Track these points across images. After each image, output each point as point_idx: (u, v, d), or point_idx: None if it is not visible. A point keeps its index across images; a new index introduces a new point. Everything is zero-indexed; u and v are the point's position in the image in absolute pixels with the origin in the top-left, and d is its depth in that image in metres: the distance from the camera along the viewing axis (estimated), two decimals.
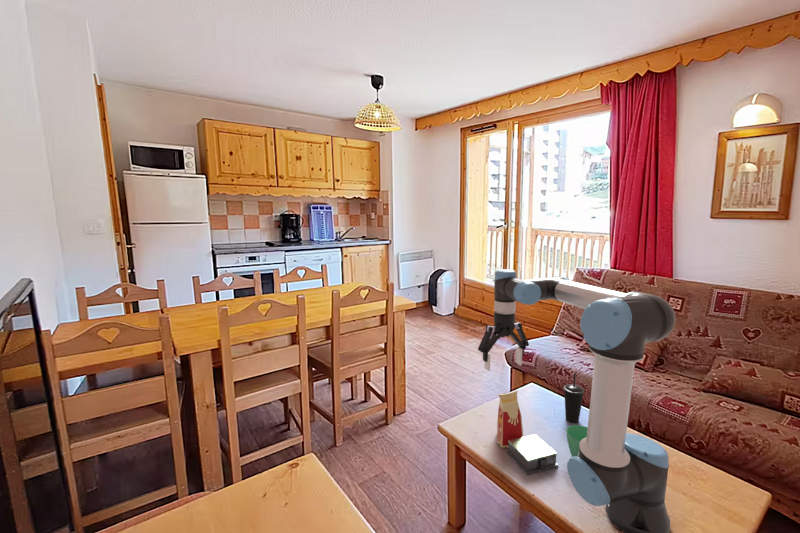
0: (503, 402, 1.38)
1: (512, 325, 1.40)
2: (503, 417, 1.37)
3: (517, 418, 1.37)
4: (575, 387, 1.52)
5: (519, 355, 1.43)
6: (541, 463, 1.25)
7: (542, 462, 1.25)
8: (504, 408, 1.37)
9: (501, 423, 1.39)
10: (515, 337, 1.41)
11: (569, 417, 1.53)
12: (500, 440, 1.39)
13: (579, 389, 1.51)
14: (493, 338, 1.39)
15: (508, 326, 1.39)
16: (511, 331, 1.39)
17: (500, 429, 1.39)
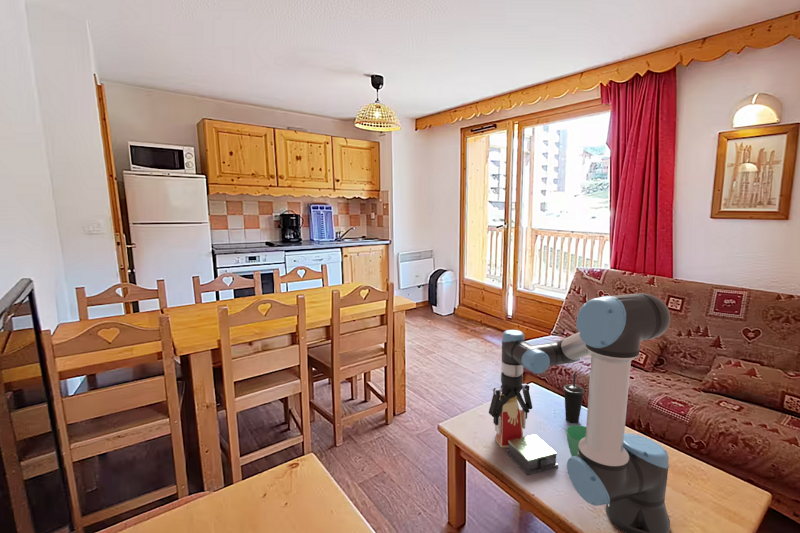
0: None
1: (520, 386, 1.38)
2: (503, 417, 1.37)
3: (517, 418, 1.37)
4: (575, 387, 1.52)
5: (522, 418, 1.41)
6: (541, 463, 1.25)
7: (542, 462, 1.25)
8: (504, 408, 1.37)
9: (501, 423, 1.38)
10: (521, 399, 1.39)
11: (569, 417, 1.53)
12: (500, 440, 1.39)
13: (579, 389, 1.51)
14: (502, 401, 1.38)
15: (516, 386, 1.38)
16: (518, 393, 1.38)
17: None
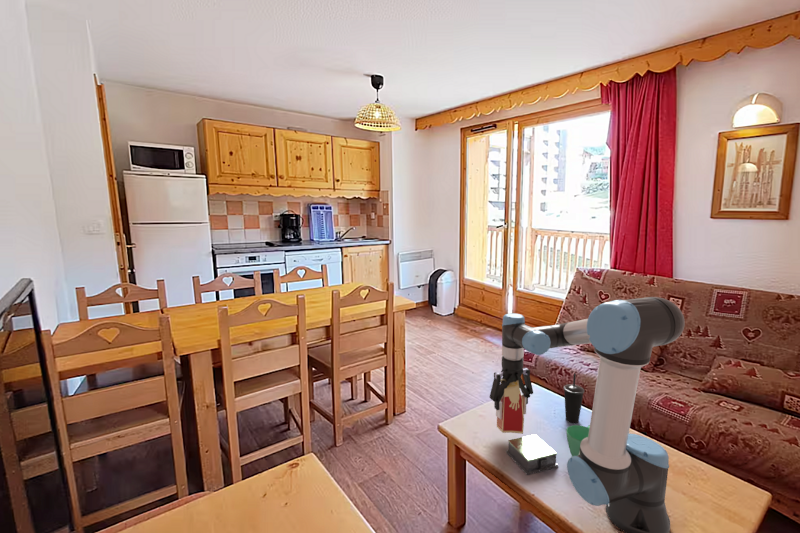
0: None
1: (520, 370, 1.37)
2: (504, 402, 1.36)
3: (519, 403, 1.36)
4: (575, 387, 1.52)
5: (523, 403, 1.40)
6: (541, 463, 1.25)
7: (542, 462, 1.25)
8: (505, 393, 1.36)
9: (502, 408, 1.37)
10: (521, 384, 1.38)
11: (569, 417, 1.53)
12: (501, 425, 1.38)
13: (579, 389, 1.51)
14: (502, 385, 1.37)
15: (516, 370, 1.37)
16: (519, 377, 1.37)
17: None
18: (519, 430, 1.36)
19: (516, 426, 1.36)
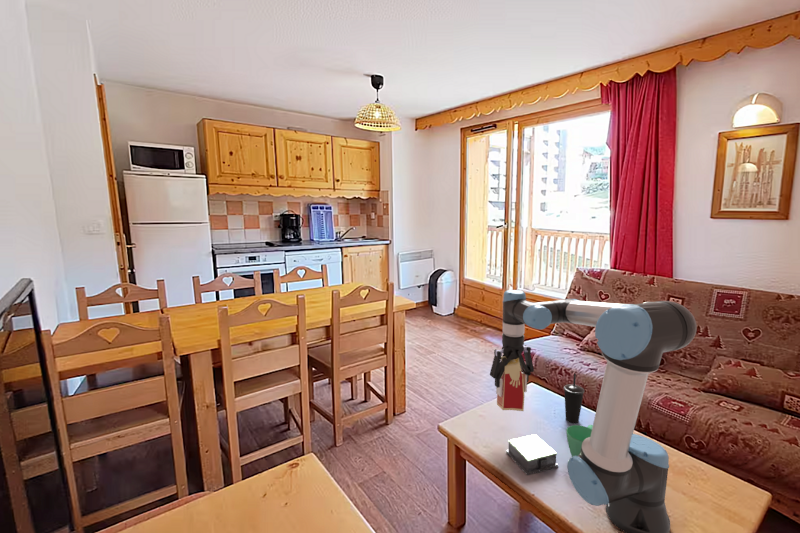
0: None
1: (521, 347, 1.36)
2: (505, 379, 1.35)
3: (519, 380, 1.35)
4: (575, 387, 1.52)
5: (524, 381, 1.39)
6: (541, 463, 1.25)
7: (542, 462, 1.25)
8: (506, 370, 1.35)
9: (502, 385, 1.36)
10: (522, 361, 1.37)
11: (569, 417, 1.53)
12: (501, 403, 1.37)
13: (579, 389, 1.51)
14: (503, 362, 1.35)
15: (517, 347, 1.35)
16: (519, 354, 1.35)
17: None
18: (520, 407, 1.35)
19: (516, 403, 1.35)
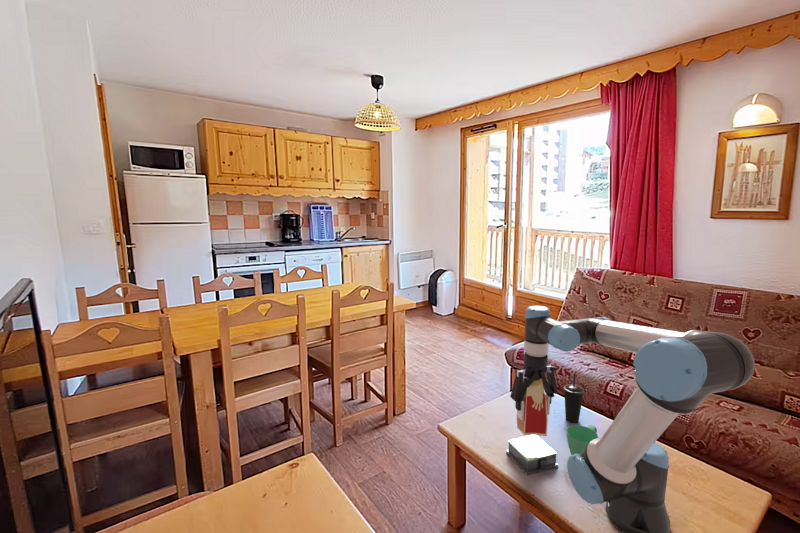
0: None
1: (544, 367, 1.26)
2: (527, 402, 1.25)
3: (542, 403, 1.25)
4: (575, 387, 1.52)
5: None
6: (541, 463, 1.25)
7: (542, 462, 1.25)
8: (528, 392, 1.25)
9: (524, 408, 1.26)
10: (545, 382, 1.27)
11: (569, 417, 1.53)
12: (522, 427, 1.27)
13: (579, 389, 1.51)
14: (525, 384, 1.25)
15: (540, 368, 1.25)
16: (542, 375, 1.25)
17: None
18: (542, 432, 1.25)
19: (539, 428, 1.25)
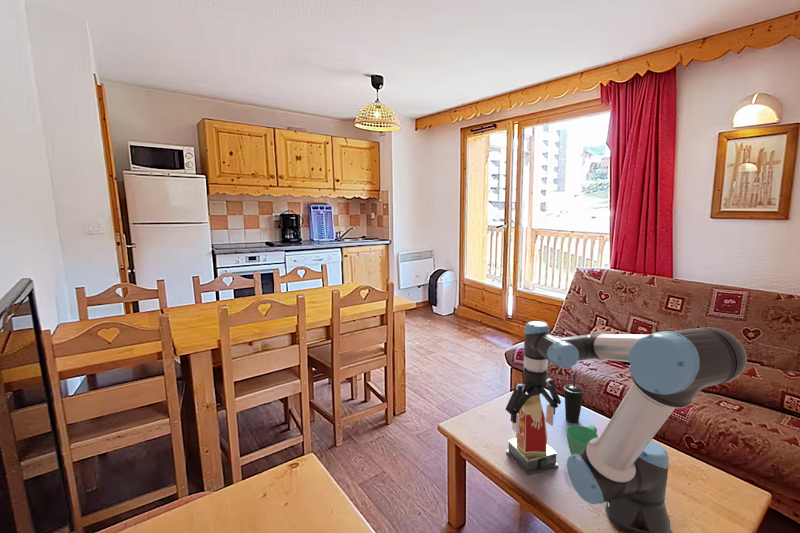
0: (525, 404, 1.26)
1: (543, 382, 1.27)
2: (526, 421, 1.26)
3: (541, 421, 1.26)
4: (575, 387, 1.52)
5: (550, 414, 1.30)
6: (541, 463, 1.25)
7: (542, 462, 1.25)
8: (527, 411, 1.26)
9: (523, 427, 1.27)
10: (546, 395, 1.28)
11: (569, 417, 1.53)
12: (522, 446, 1.28)
13: (579, 389, 1.51)
14: (522, 397, 1.26)
15: (539, 384, 1.26)
16: (542, 389, 1.26)
17: (522, 434, 1.28)
18: (543, 450, 1.26)
19: (539, 446, 1.26)
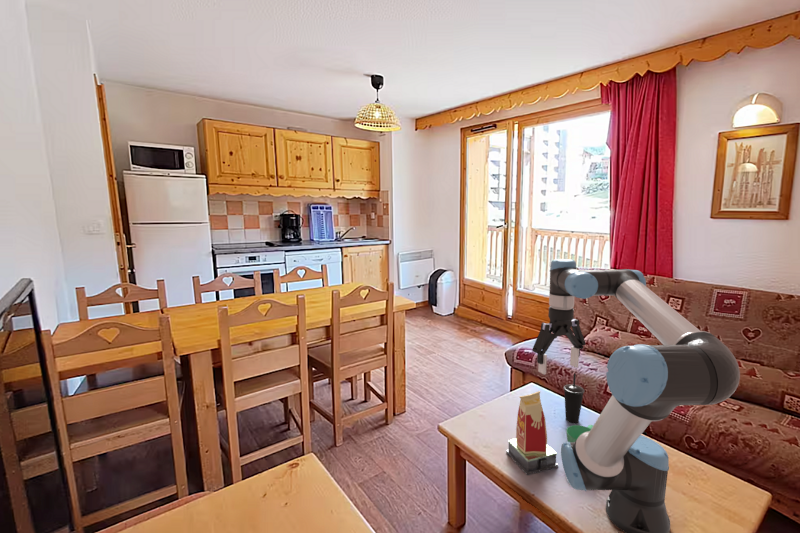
0: (525, 404, 1.26)
1: (569, 322, 1.24)
2: (526, 421, 1.26)
3: (541, 422, 1.26)
4: (575, 387, 1.52)
5: (575, 356, 1.27)
6: (541, 463, 1.25)
7: (542, 462, 1.25)
8: (527, 411, 1.26)
9: (523, 427, 1.27)
10: (572, 336, 1.25)
11: (569, 417, 1.53)
12: (522, 446, 1.28)
13: (579, 389, 1.51)
14: (549, 337, 1.22)
15: (565, 323, 1.23)
16: (569, 329, 1.23)
17: (522, 434, 1.28)
18: (543, 450, 1.26)
19: (539, 446, 1.26)
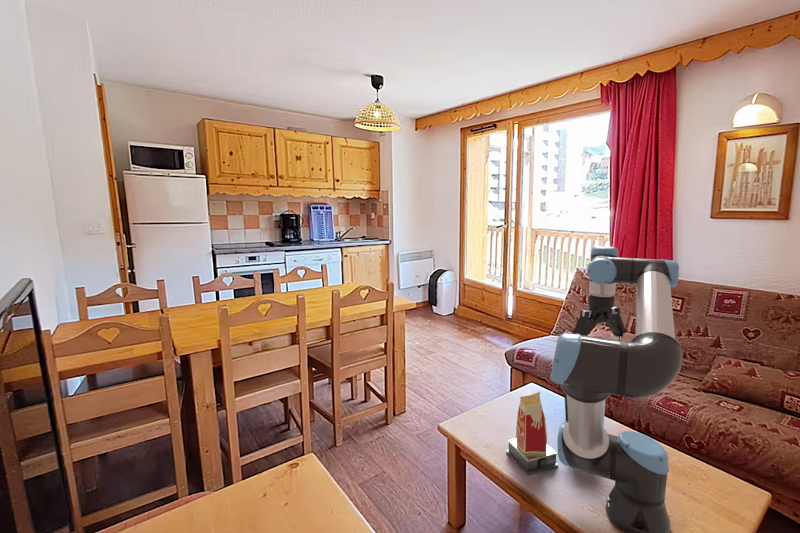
0: (525, 404, 1.26)
1: (609, 310, 1.24)
2: (526, 421, 1.26)
3: (541, 422, 1.26)
4: None
5: None
6: (541, 463, 1.25)
7: (542, 462, 1.25)
8: (527, 411, 1.26)
9: (523, 427, 1.27)
10: (612, 323, 1.25)
11: None
12: (522, 446, 1.28)
13: None
14: (589, 324, 1.23)
15: (605, 311, 1.23)
16: (609, 316, 1.23)
17: (522, 434, 1.28)
18: (543, 450, 1.26)
19: (539, 446, 1.26)
